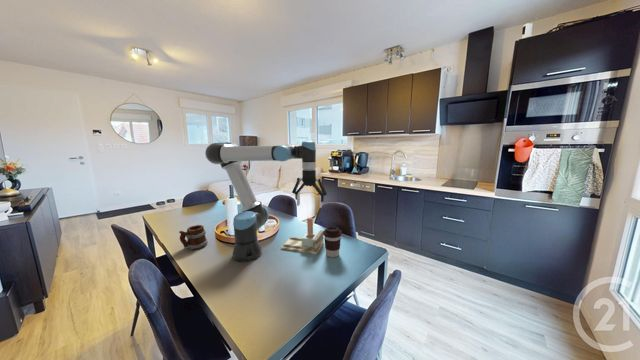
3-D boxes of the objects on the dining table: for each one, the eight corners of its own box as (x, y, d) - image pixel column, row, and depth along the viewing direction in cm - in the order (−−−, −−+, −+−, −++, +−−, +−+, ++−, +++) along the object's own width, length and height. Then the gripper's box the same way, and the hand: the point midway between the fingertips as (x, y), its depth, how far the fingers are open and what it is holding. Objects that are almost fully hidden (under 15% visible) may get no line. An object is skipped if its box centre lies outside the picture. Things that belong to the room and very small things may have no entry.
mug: (213, 243, 135) (207, 221, 130) (191, 257, 123) (184, 234, 119) (202, 239, 141) (195, 218, 136) (180, 252, 129) (172, 230, 124)
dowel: (307, 243, 128) (306, 219, 125) (308, 240, 131) (308, 217, 128) (312, 243, 127) (311, 219, 124) (313, 241, 130) (313, 217, 127)
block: (301, 246, 126) (301, 238, 125) (306, 240, 134) (306, 232, 133) (314, 248, 124) (314, 239, 123) (319, 242, 132) (318, 234, 131)
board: (280, 249, 127) (280, 235, 126) (290, 238, 140) (290, 226, 139) (316, 254, 121) (316, 240, 119) (323, 243, 134) (323, 230, 133)
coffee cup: (340, 259, 115) (340, 233, 112) (322, 258, 117) (321, 231, 114) (342, 250, 124) (342, 226, 122) (325, 249, 126) (325, 224, 124)
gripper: (285, 169, 121) (286, 206, 125) (329, 171, 114) (328, 210, 118) (291, 167, 128) (292, 202, 132) (332, 169, 121) (332, 206, 125)
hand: (309, 206), depth 125 cm, fingers open, 13 cm apart
